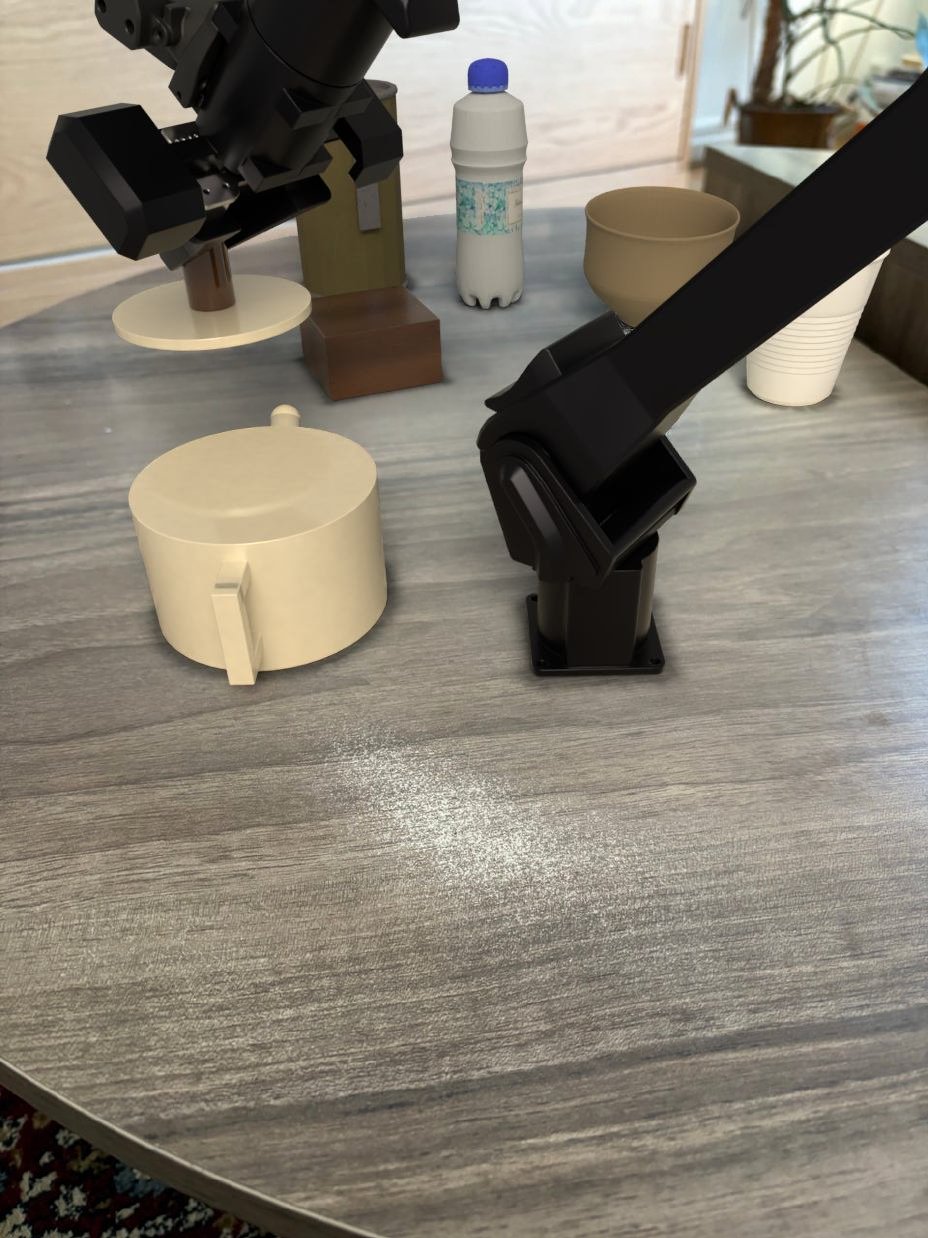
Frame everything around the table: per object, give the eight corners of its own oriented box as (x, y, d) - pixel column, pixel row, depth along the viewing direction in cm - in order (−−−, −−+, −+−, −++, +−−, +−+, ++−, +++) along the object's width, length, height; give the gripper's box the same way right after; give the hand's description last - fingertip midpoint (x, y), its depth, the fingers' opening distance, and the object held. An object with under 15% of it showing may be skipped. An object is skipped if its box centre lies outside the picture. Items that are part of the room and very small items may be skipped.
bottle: (520, 314, 90) (522, 63, 78) (447, 311, 91) (438, 63, 79) (531, 290, 95) (534, 51, 83) (462, 287, 96) (456, 51, 84)
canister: (288, 279, 100) (259, 51, 88) (385, 264, 103) (370, 42, 91) (323, 312, 92) (296, 66, 80) (426, 294, 95) (416, 55, 83)
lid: (346, 320, 55) (333, 193, 51) (152, 367, 50) (121, 231, 46) (264, 272, 62) (247, 158, 58) (89, 309, 58) (58, 188, 54)
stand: (442, 381, 78) (440, 319, 75) (331, 401, 76) (324, 337, 73) (406, 343, 85) (402, 284, 82) (303, 360, 83) (296, 300, 80)
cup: (704, 404, 74) (723, 252, 67) (740, 358, 81) (761, 216, 74) (842, 429, 70) (877, 270, 63) (868, 378, 77) (901, 230, 70)
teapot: (376, 705, 47) (362, 574, 43) (117, 710, 48) (77, 580, 43) (397, 499, 63) (389, 389, 59) (203, 504, 63) (180, 393, 59)
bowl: (612, 359, 81) (620, 232, 75) (558, 308, 91) (562, 192, 85) (751, 340, 84) (770, 216, 78) (685, 293, 94) (697, 179, 88)
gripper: (339, -128, 49) (223, 107, 60) (2, -124, 37) (-60, 169, 48) (475, 63, 49) (334, 258, 61) (189, 128, 37) (82, 355, 49)
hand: (188, 255), depth 55 cm, fingers closed on lid, 3 cm apart
